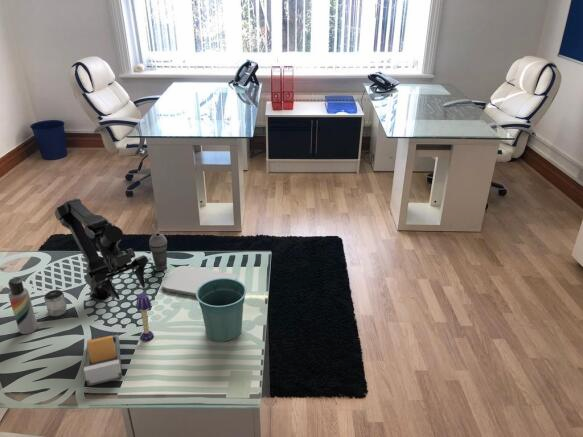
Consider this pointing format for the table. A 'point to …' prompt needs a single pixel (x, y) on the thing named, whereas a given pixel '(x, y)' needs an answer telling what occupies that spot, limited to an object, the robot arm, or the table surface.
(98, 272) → the robot arm
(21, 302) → the lotion bottle
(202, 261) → the table surface
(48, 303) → the jar with dark lid
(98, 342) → the block
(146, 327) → the toy lamp
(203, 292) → the flower pot
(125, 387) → the table surface
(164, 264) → the beverage cup
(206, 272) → the tablet
